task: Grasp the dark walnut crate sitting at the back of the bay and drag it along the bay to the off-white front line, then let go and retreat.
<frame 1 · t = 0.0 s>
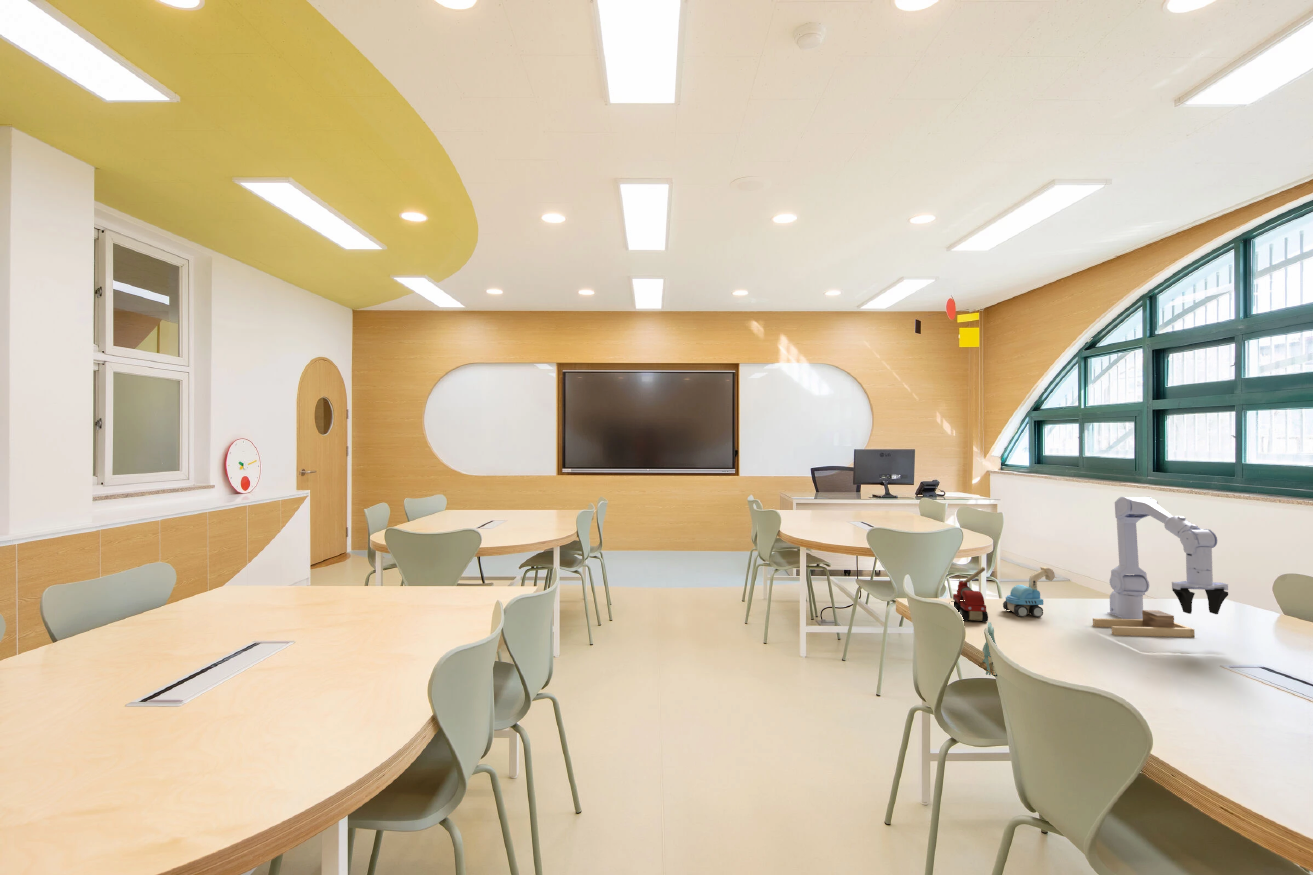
hand: (1200, 613, 168), 10 cm above the table, fingers open, 7 cm apart
toy fire truck: (972, 617, 198), on the table
crate: (1158, 621, 180), point 4 cm above the table, slide at 0.0 cm
dinosaur: (994, 668, 151), on the table
toy excavator: (1030, 614, 201), on the table
bay: (1142, 632, 180), on the table
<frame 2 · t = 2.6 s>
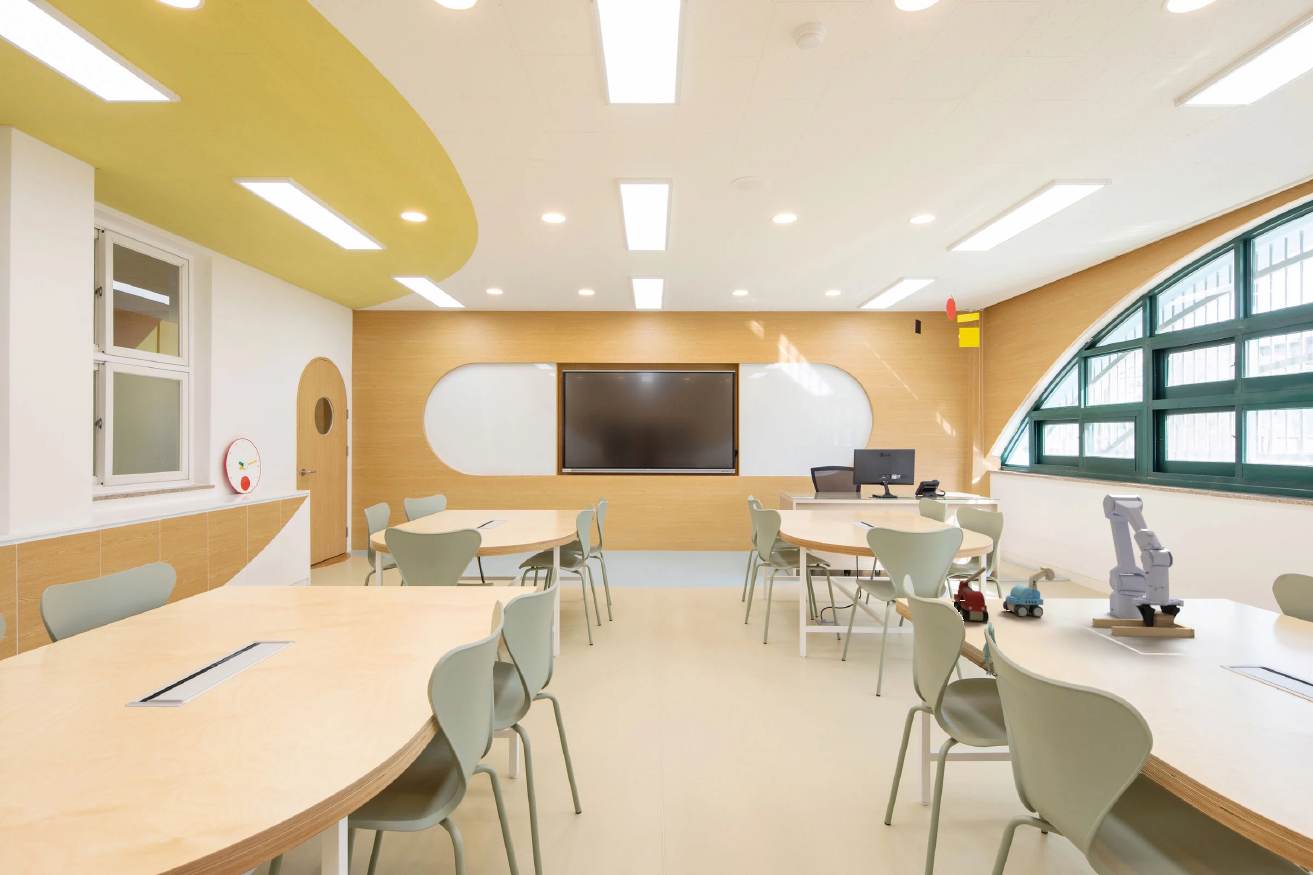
hand: (1158, 627, 180), 2 cm above the table, fingers closed on crate, 5 cm apart
crate: (1158, 621, 180), point 4 cm above the table, slide at 0.0 cm, touching gripper
everything else where it was.
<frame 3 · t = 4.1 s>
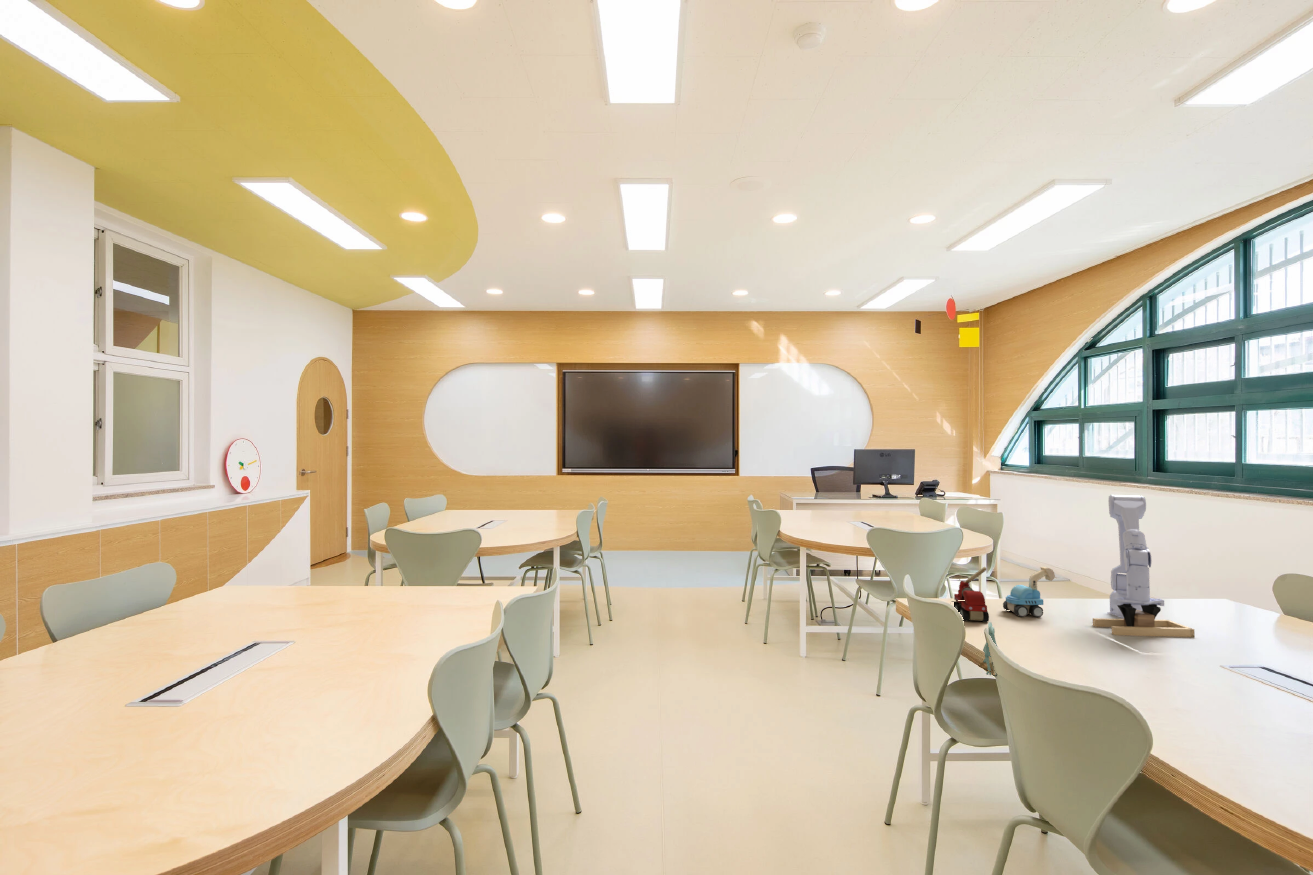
hand: (1139, 627, 180), 2 cm above the table, fingers closed on crate, 5 cm apart
crate: (1138, 621, 180), point 4 cm above the table, slide at 5.9 cm, touching gripper
everything else where it was.
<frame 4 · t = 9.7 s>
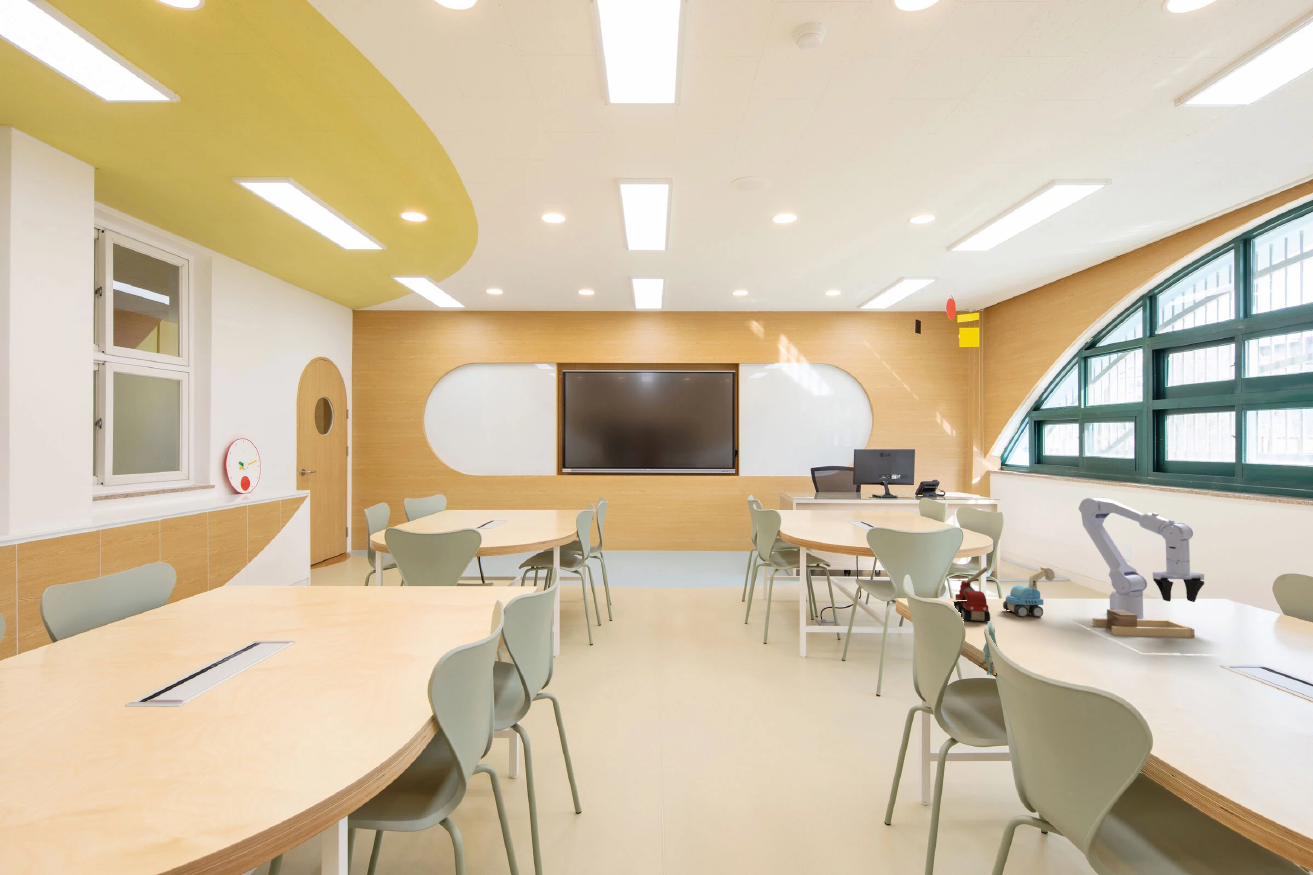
hand: (1178, 600, 182), 10 cm above the table, fingers open, 7 cm apart
crate: (1121, 621, 180), point 4 cm above the table, slide at 11.2 cm
everything else where it was.
at the end: crate slide at 11.2 cm; crate inside the target area (0.1 cm from its centre), point 3.6 cm above the table; the gripper is holding nothing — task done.
